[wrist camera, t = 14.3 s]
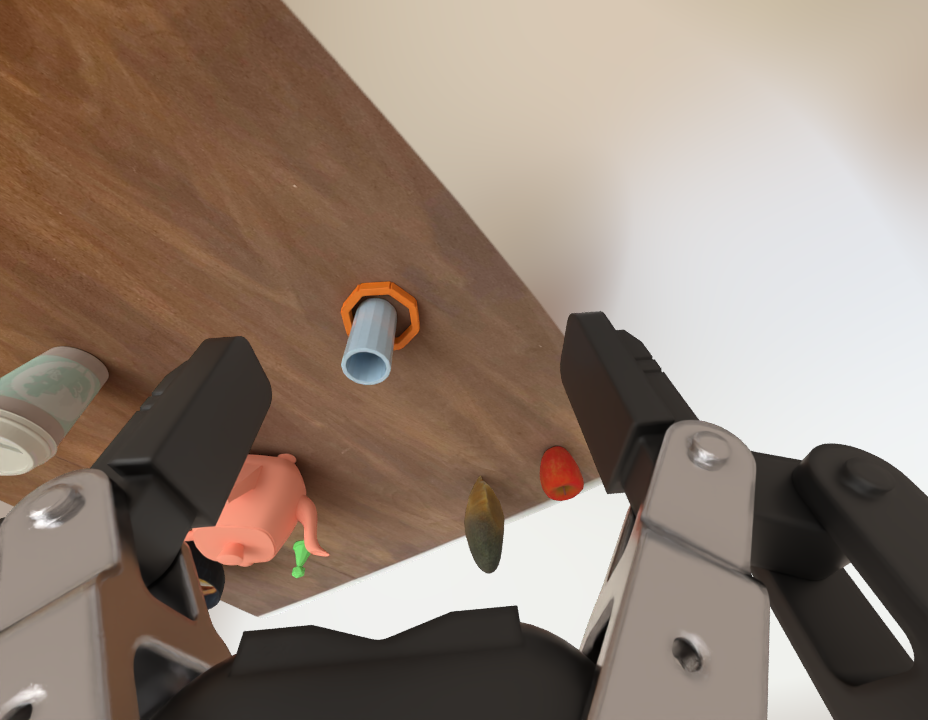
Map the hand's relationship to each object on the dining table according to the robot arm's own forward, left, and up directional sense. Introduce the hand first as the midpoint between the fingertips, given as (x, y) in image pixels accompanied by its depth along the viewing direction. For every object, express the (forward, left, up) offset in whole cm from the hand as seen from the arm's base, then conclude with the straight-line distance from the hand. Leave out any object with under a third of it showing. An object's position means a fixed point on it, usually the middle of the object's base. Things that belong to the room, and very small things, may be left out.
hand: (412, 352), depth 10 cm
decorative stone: (+49, +4, -28) cm, 57 cm away
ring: (+16, -6, -28) cm, 33 cm away
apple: (+44, +16, -28) cm, 55 cm away
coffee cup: (+20, -42, -28) cm, 54 cm away
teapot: (+42, -28, -28) cm, 58 cm away
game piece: (+68, -31, -28) cm, 80 cm away
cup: (+16, -7, -28) cm, 33 cm away
